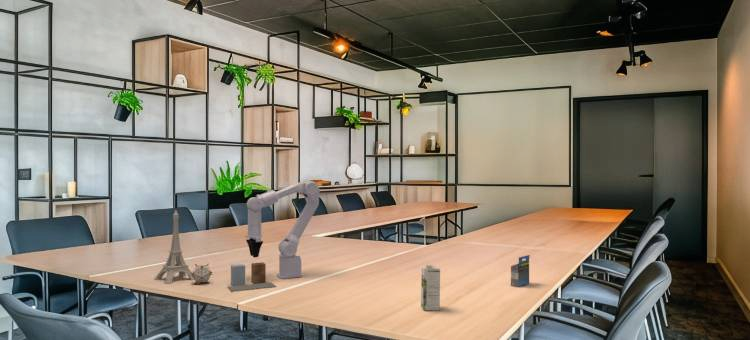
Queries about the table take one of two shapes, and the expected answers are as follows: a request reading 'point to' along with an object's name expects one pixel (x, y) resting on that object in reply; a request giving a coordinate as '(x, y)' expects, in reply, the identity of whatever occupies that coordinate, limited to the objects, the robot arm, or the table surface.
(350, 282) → the table surface
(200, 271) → the grey faceted ornament
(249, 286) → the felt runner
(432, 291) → the syrup box
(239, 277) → the slate block
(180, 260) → the eiffel tower
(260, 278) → the walnut block
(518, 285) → the label tape cartridge
